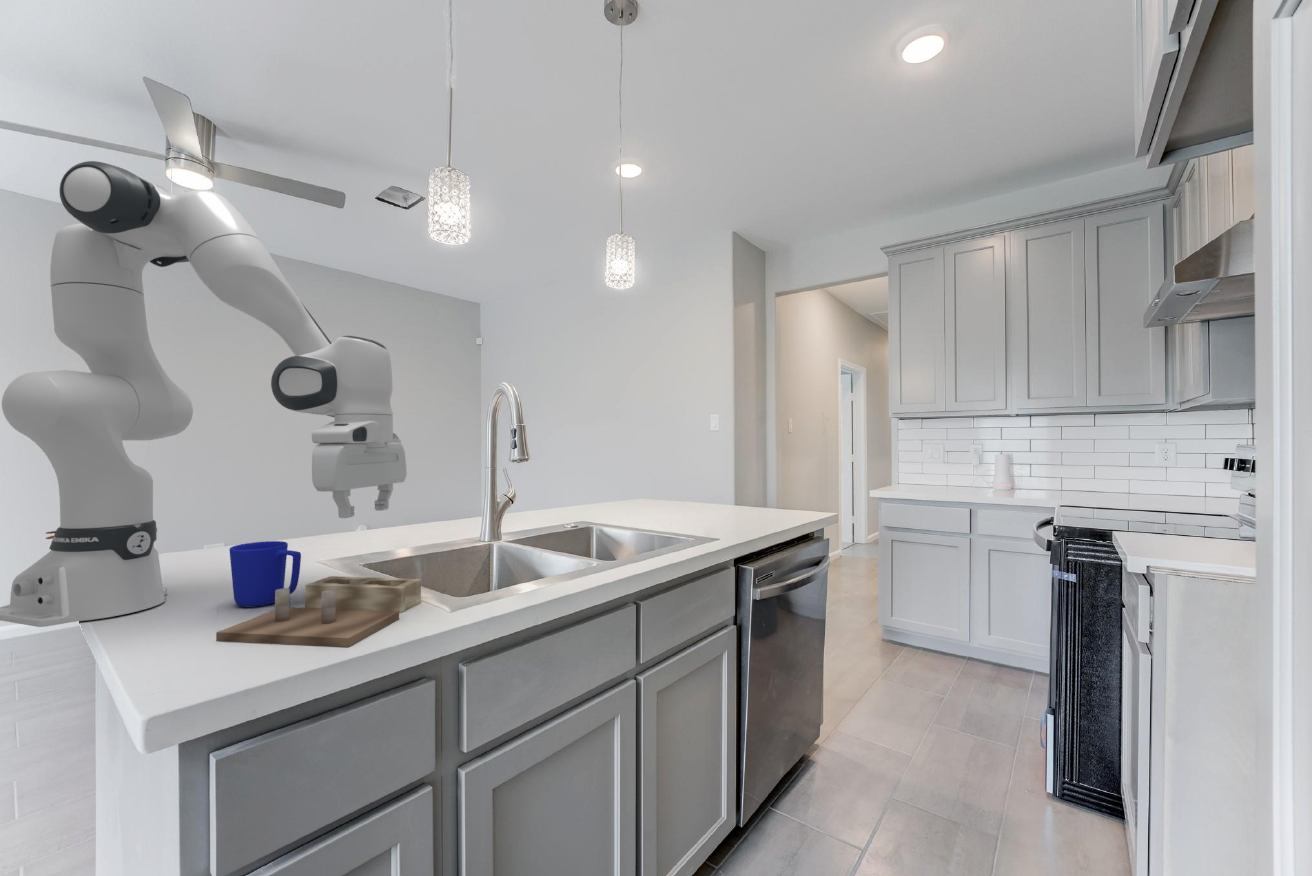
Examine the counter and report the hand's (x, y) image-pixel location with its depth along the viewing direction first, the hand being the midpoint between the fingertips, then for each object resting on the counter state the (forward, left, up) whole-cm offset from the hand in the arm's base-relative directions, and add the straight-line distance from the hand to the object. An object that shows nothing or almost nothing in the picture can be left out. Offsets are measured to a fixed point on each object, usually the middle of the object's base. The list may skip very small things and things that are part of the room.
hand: (365, 513), depth 95 cm
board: (0, -12, -16) cm, 20 cm away
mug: (-17, -1, -16) cm, 23 cm away
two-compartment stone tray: (0, 0, -16) cm, 16 cm away
